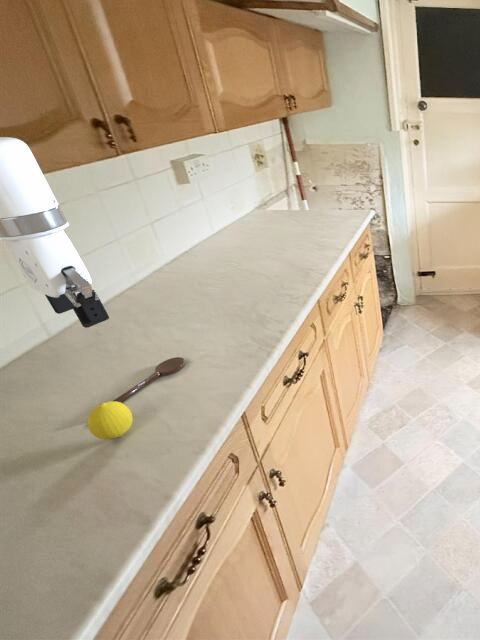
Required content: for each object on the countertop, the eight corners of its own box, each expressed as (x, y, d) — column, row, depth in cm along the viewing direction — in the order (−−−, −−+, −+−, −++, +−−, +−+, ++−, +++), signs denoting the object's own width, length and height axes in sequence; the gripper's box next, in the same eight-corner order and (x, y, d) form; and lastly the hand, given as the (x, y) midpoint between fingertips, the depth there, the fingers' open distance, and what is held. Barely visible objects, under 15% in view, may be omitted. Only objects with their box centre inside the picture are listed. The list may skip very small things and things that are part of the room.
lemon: (91, 444, 72) (71, 412, 68) (126, 421, 77) (108, 389, 73) (112, 452, 70) (92, 419, 67) (146, 428, 75) (129, 396, 72)
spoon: (102, 423, 76) (99, 419, 76) (82, 419, 77) (79, 414, 77) (191, 362, 92) (189, 358, 92) (173, 359, 93) (171, 354, 93)
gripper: (-30, 222, 61) (29, 315, 68) (18, 240, 54) (78, 341, 61) (39, 207, 67) (86, 295, 74) (89, 222, 60) (136, 316, 67)
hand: (82, 316), depth 68 cm, fingers open, 9 cm apart
